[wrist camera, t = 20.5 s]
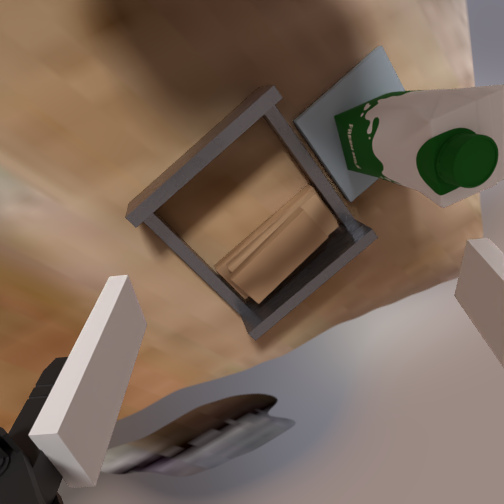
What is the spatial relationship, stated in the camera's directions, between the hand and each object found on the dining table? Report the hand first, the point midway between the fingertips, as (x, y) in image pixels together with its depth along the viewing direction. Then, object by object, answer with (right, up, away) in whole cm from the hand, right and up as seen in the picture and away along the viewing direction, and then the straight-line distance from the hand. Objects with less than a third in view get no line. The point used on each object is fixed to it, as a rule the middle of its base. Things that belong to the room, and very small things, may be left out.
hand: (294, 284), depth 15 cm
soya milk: (+13, +16, +32) cm, 38 cm away
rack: (-2, +6, +33) cm, 34 cm away
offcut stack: (+1, +3, +35) cm, 35 cm away
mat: (+12, +17, +32) cm, 38 cm away
